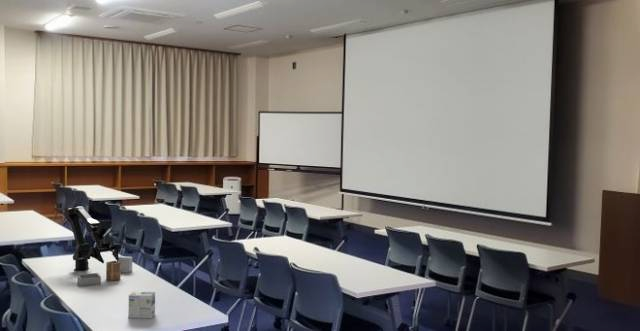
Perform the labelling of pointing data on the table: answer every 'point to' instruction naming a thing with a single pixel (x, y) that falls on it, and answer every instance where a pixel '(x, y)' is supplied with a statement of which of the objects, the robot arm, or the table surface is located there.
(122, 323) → the table surface
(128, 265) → the medicine box
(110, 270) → the small crate
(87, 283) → the grey square tray
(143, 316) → the light bulb box
